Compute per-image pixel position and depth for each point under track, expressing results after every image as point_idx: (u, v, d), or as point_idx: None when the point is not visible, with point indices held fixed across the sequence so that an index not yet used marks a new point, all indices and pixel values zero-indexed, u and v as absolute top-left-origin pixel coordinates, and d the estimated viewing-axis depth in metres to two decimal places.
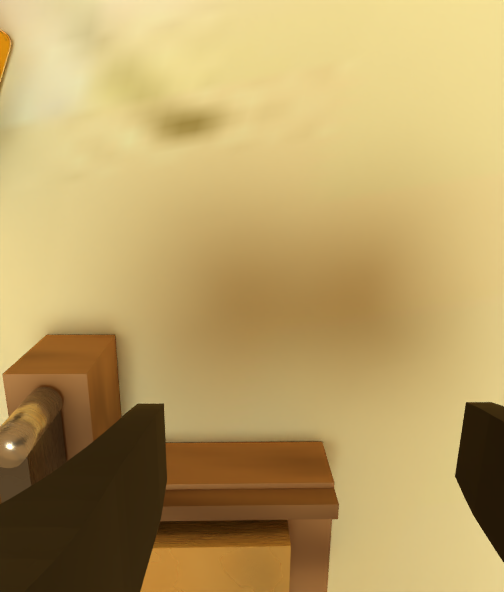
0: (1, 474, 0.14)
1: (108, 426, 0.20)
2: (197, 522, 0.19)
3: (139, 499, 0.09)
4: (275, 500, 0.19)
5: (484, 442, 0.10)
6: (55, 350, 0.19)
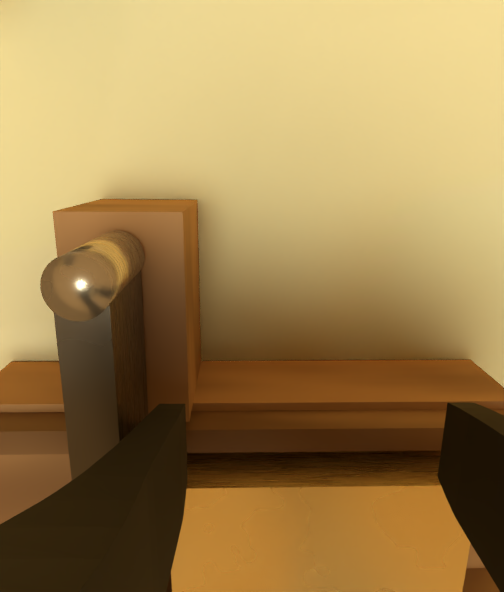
0: (64, 337, 0.09)
1: (193, 321, 0.14)
2: (327, 456, 0.13)
3: (166, 500, 0.09)
4: (443, 422, 0.13)
5: (464, 442, 0.10)
6: (121, 204, 0.13)
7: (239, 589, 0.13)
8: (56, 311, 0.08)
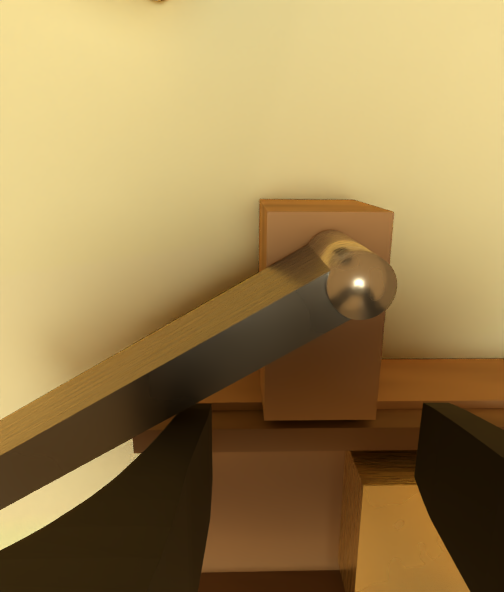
0: (302, 294, 0.08)
1: None
2: None
3: (199, 499, 0.09)
4: None
5: (438, 442, 0.10)
6: (300, 204, 0.13)
7: (421, 585, 0.13)
8: (330, 280, 0.08)
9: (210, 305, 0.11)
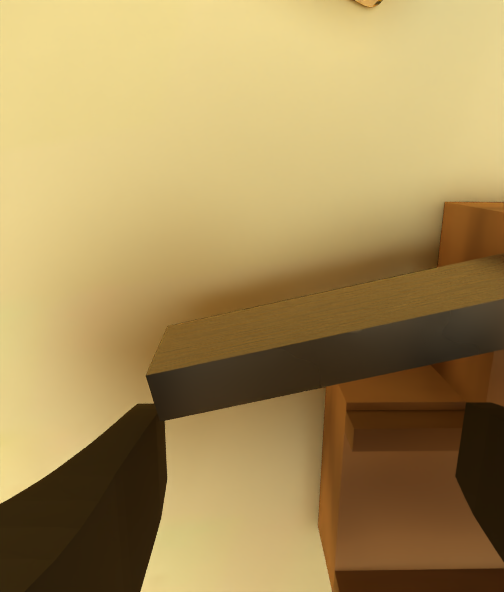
0: None
1: None
2: None
3: (140, 500, 0.09)
4: None
5: (484, 442, 0.10)
6: None
7: None
8: None
9: (460, 269, 0.11)
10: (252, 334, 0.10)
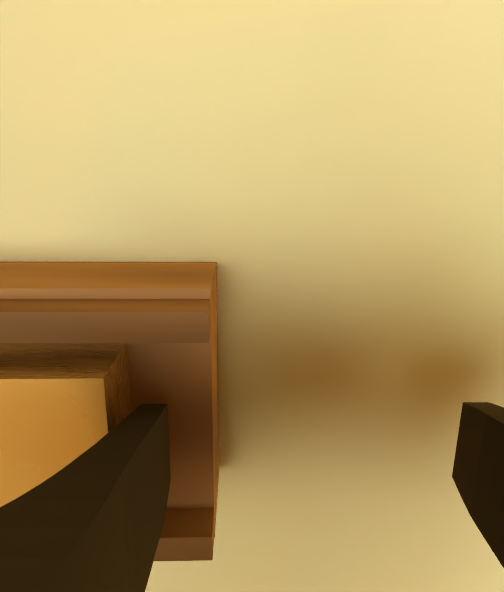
0: None
1: None
2: None
3: (144, 500, 0.09)
4: (92, 309, 0.10)
5: (481, 442, 0.10)
6: None
7: None
8: None
9: None
10: None
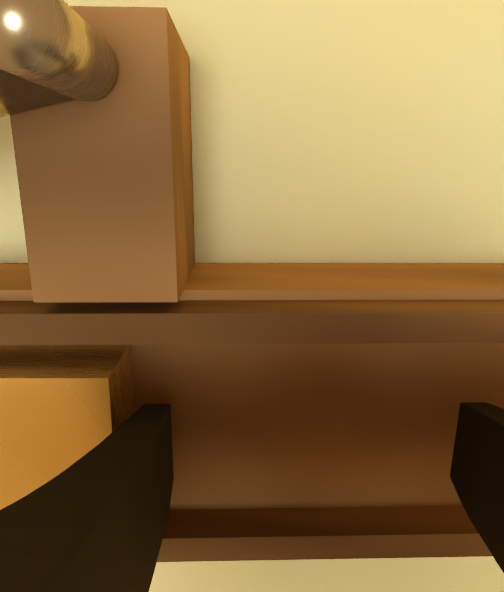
0: None
1: (184, 193, 0.11)
2: None
3: (147, 499, 0.09)
4: (494, 309, 0.10)
5: (478, 442, 0.10)
6: None
7: None
8: None
9: None
10: None
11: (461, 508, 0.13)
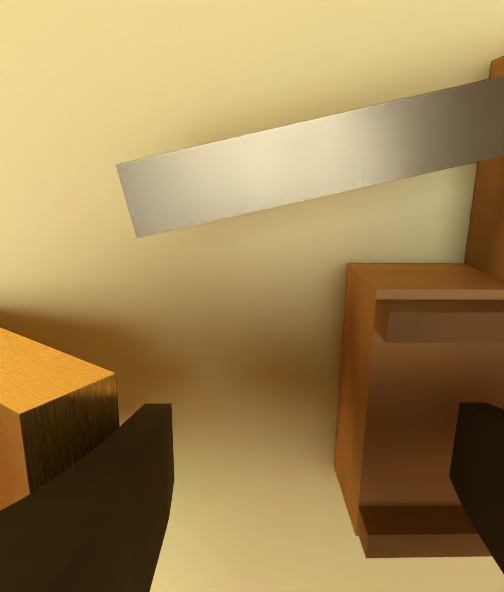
0: None
1: None
2: None
3: (148, 500, 0.09)
4: None
5: (477, 442, 0.10)
6: None
7: None
8: None
9: None
10: None
11: None
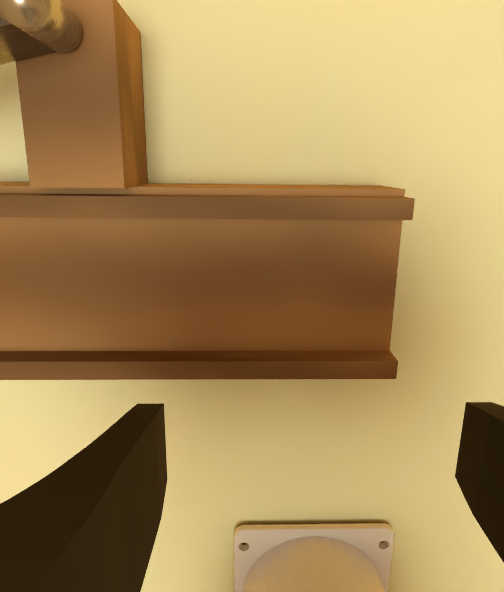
0: None
1: (133, 123, 0.16)
2: None
3: (139, 499, 0.09)
4: (336, 198, 0.16)
5: (484, 442, 0.10)
6: None
7: None
8: None
9: None
10: None
11: (331, 351, 0.18)
